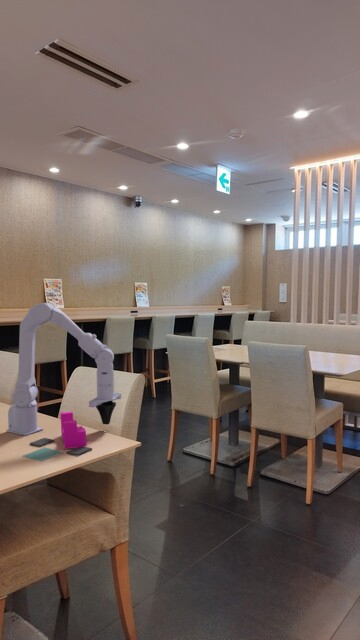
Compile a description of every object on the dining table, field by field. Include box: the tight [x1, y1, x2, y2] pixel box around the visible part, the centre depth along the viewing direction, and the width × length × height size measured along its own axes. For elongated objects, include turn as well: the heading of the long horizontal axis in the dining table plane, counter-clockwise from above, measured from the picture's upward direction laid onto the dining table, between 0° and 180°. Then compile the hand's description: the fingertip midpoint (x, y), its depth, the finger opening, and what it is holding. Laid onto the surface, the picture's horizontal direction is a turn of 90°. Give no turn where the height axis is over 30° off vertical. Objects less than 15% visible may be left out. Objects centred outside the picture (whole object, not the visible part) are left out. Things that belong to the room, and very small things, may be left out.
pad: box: [22, 446, 64, 462], centre depth 133 cm, size 8×8×1 cm
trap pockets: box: [29, 437, 93, 457], centre depth 139 cm, size 20×6×1 cm, turn 59°
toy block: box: [60, 411, 87, 450], centre depth 144 cm, size 15×6×8 cm, turn 18°
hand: (106, 423), depth 157 cm, fingers closed
